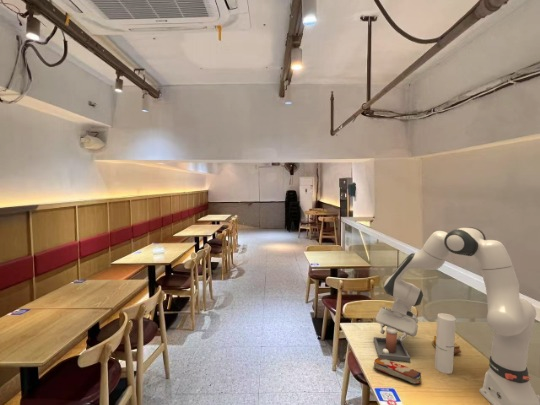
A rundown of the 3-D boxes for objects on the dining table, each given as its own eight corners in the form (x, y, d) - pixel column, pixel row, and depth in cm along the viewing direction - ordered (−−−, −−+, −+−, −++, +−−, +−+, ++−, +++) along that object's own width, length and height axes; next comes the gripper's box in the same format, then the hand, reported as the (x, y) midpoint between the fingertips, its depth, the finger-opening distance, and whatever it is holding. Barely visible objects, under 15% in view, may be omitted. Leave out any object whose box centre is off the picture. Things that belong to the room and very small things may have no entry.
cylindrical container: (455, 374, 133) (458, 321, 131) (437, 372, 135) (440, 319, 132) (448, 364, 140) (452, 313, 138) (432, 362, 141) (435, 312, 139)
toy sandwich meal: (455, 343, 159) (455, 334, 158) (464, 358, 146) (465, 349, 145) (429, 339, 162) (429, 331, 162) (436, 354, 149) (436, 345, 149)
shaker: (397, 353, 148) (398, 332, 146) (386, 352, 148) (387, 331, 147) (395, 348, 153) (395, 327, 152) (384, 346, 153) (385, 326, 152)
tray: (410, 362, 142) (410, 357, 141) (379, 359, 144) (379, 354, 144) (401, 344, 157) (401, 339, 157) (373, 341, 160) (373, 337, 159)
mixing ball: (389, 356, 145) (389, 351, 145) (382, 356, 145) (383, 350, 145) (387, 353, 148) (388, 347, 148) (381, 352, 148) (381, 347, 148)
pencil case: (382, 360, 144) (383, 350, 144) (425, 381, 129) (425, 370, 129) (370, 369, 137) (370, 359, 136) (413, 393, 122) (414, 381, 122)
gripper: (379, 303, 161) (369, 326, 155) (418, 316, 146) (409, 342, 140) (383, 308, 164) (373, 331, 159) (421, 322, 149) (412, 348, 144)
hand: (390, 336), depth 149 cm, fingers open, 8 cm apart
